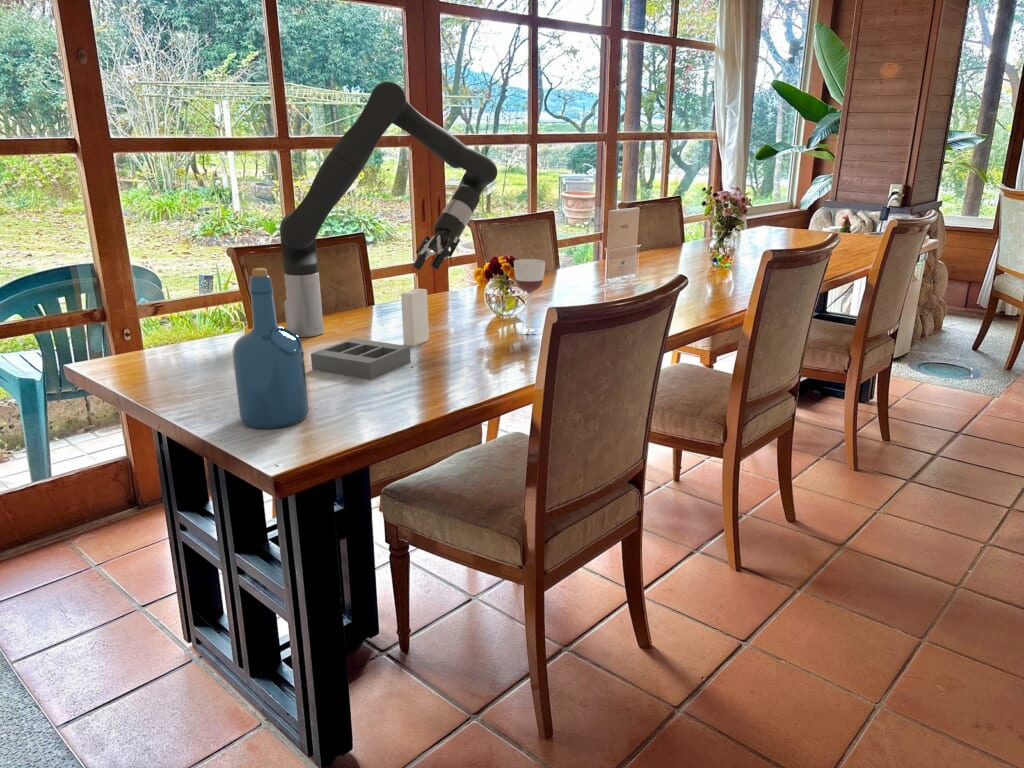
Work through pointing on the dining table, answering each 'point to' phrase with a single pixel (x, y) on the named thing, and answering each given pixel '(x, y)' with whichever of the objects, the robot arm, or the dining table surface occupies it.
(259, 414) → the wine bottle
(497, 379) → the dining table surface
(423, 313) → the white box
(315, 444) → the dining table surface
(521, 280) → the wineglass
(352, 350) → the rack
